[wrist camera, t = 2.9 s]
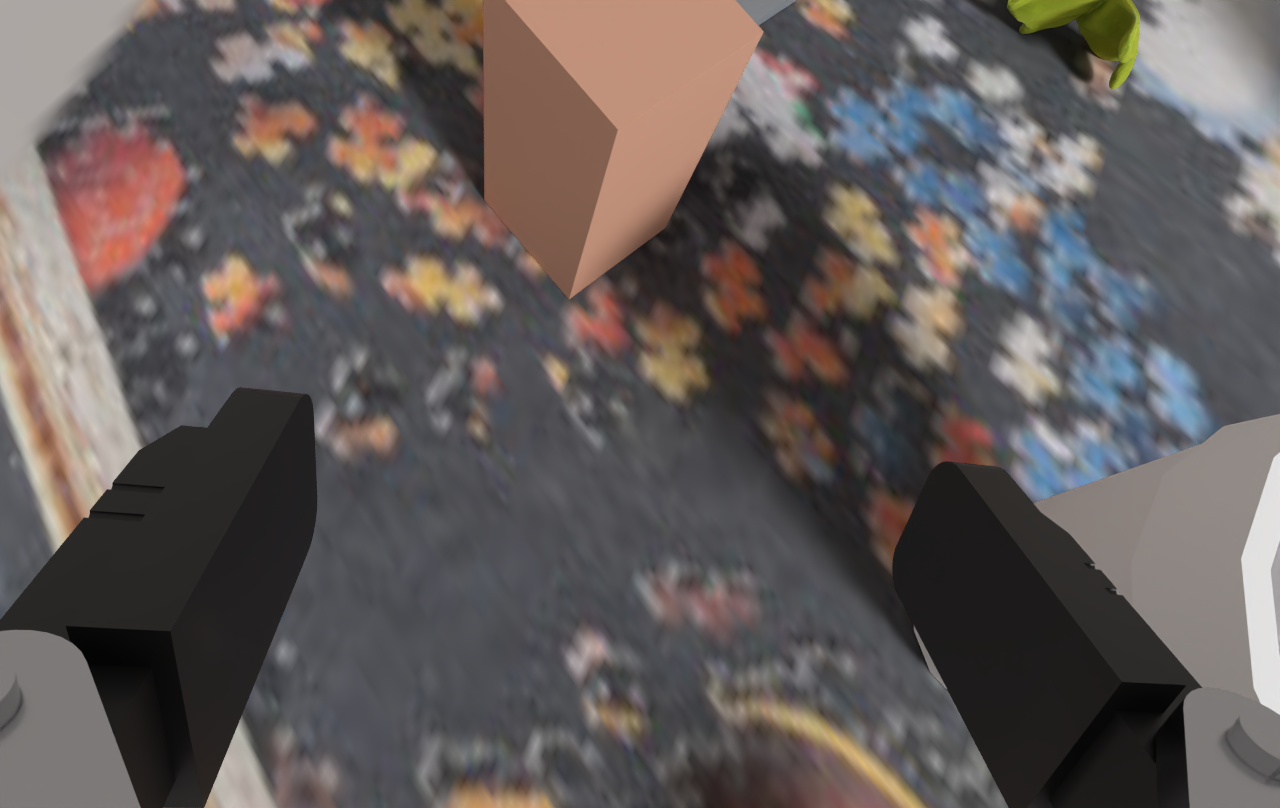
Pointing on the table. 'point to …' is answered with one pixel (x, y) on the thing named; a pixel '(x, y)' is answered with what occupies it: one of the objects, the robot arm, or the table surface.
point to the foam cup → (1194, 553)
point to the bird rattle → (1088, 26)
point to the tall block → (601, 119)
